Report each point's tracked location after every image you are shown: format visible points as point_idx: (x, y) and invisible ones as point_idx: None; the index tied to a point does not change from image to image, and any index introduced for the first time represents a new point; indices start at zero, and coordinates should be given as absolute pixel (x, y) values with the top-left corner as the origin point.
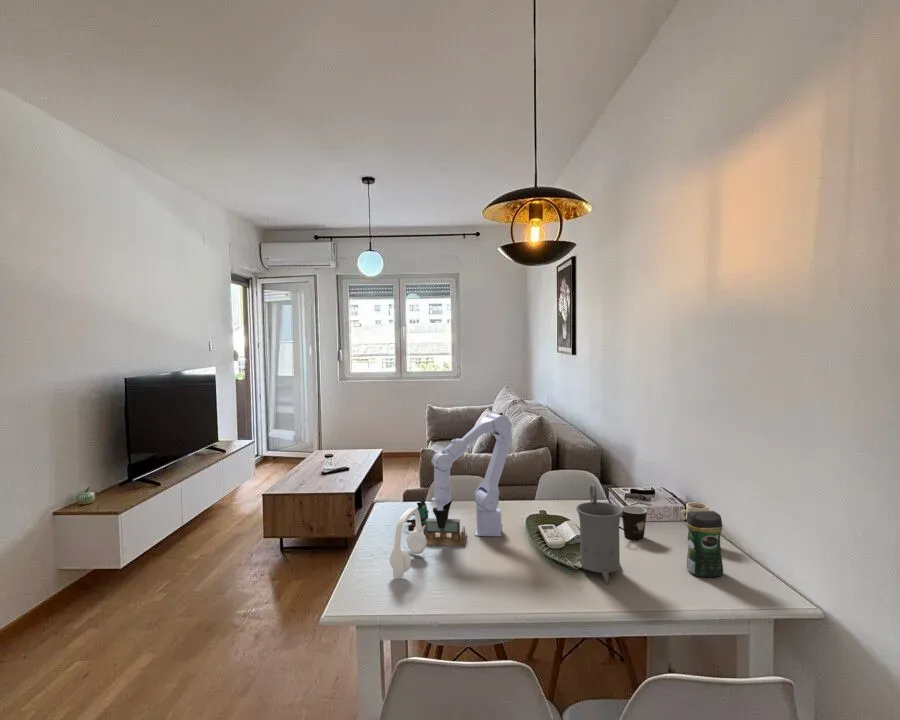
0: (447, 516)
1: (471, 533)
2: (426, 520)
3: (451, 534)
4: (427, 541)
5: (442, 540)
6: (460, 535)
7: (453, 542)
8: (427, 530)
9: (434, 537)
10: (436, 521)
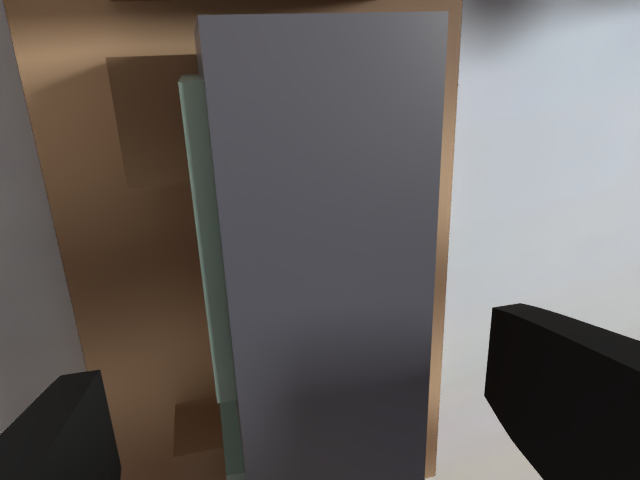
0: (534, 458)
1: (464, 477)
2: (270, 33)
3: (181, 456)
4: (41, 98)
5: (143, 305)
6: None
7: None
8: (198, 70)
9: None
10: (233, 329)
